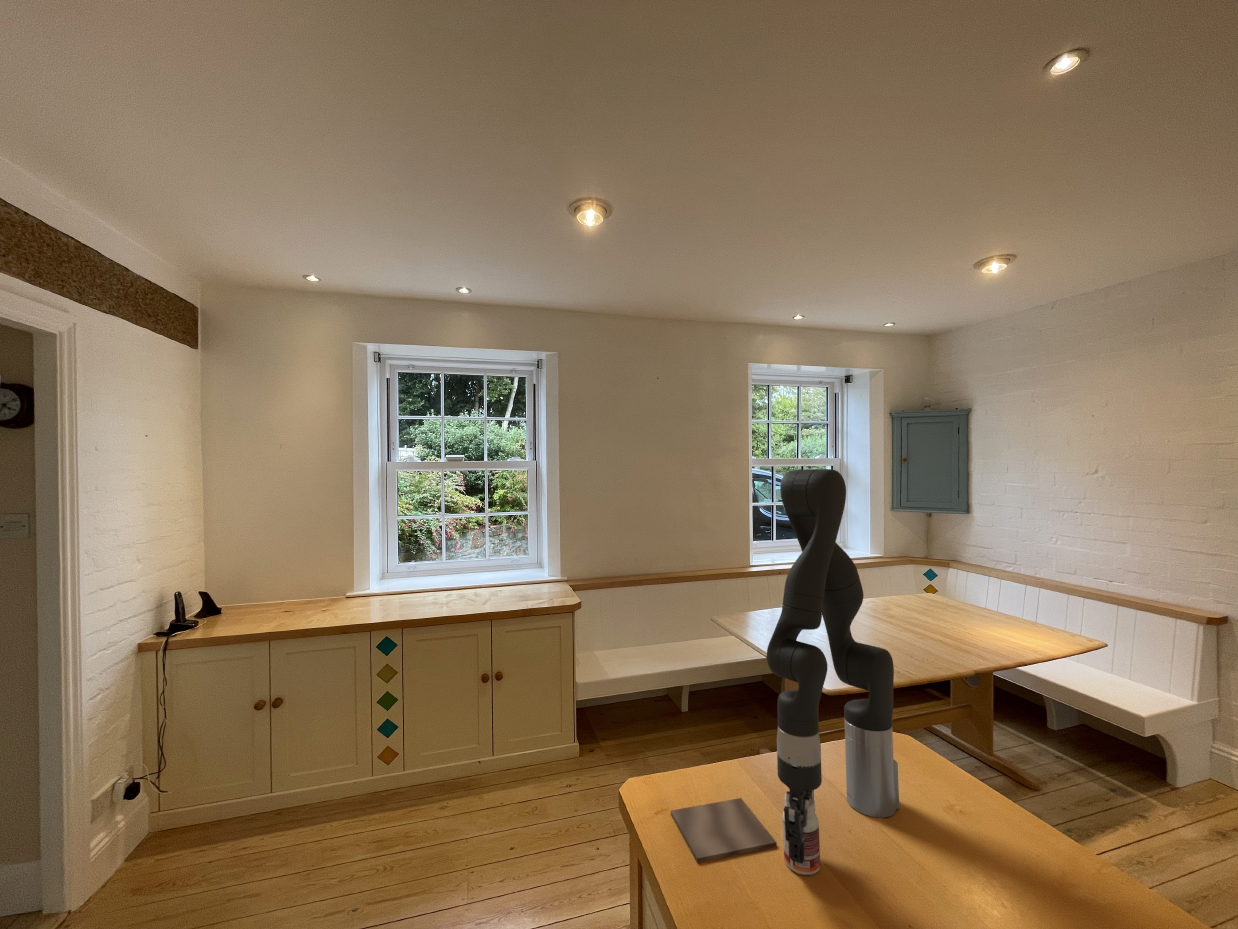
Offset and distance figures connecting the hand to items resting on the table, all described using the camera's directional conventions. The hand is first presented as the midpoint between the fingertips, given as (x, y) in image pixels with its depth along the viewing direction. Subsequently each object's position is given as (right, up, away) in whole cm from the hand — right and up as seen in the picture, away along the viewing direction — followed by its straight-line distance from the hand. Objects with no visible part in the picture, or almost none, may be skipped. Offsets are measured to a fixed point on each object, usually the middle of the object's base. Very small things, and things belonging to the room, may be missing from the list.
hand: (801, 848), depth 91 cm
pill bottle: (0, -3, 0) cm, 3 cm away
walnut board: (-13, -3, +9) cm, 16 cm away
